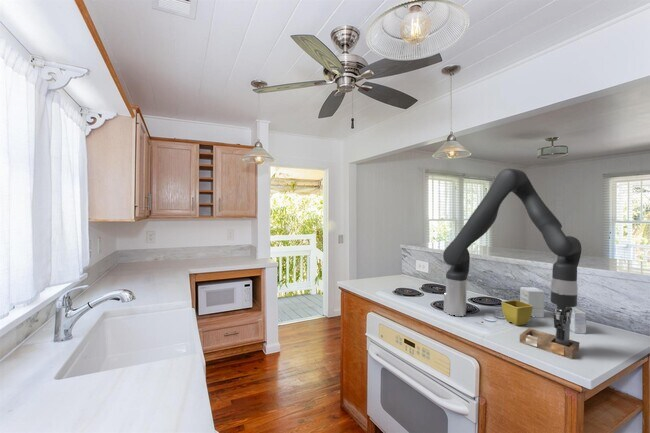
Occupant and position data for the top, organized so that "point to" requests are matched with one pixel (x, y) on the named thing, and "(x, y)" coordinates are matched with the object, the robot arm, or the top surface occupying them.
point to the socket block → (548, 343)
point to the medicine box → (578, 321)
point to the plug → (567, 335)
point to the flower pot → (517, 312)
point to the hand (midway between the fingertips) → (562, 337)
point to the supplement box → (533, 299)
